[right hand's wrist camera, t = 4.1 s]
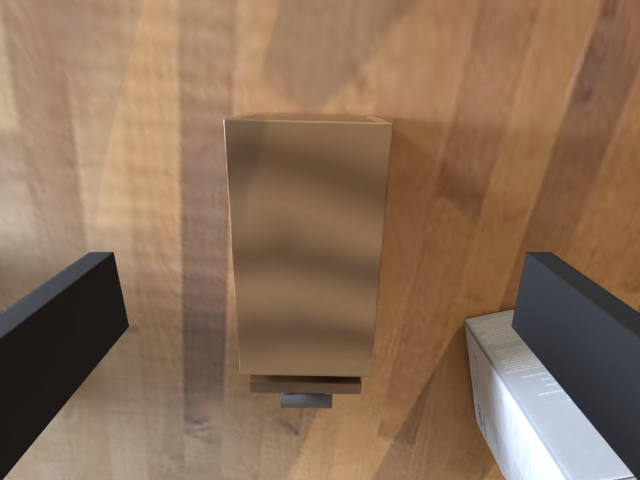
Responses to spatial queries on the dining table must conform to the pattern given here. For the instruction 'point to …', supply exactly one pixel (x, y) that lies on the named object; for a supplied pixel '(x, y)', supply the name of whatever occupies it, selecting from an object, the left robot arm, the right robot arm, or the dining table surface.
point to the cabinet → (306, 239)
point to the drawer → (305, 389)
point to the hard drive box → (531, 411)
